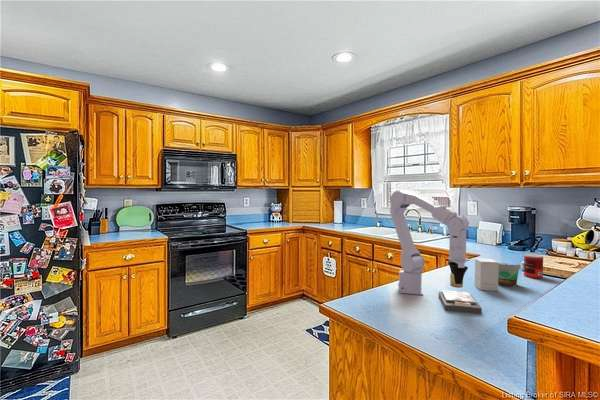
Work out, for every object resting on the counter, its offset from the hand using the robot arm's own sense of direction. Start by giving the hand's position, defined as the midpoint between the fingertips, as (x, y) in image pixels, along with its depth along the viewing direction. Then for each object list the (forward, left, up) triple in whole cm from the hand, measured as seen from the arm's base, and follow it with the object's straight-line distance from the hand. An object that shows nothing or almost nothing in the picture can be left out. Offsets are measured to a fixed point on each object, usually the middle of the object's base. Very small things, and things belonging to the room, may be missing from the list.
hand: (457, 281), depth 120 cm
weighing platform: (0, 0, -6) cm, 6 cm away
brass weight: (0, 0, -2) cm, 2 cm away
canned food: (+44, +50, -9) cm, 67 cm away
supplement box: (+16, +24, -9) cm, 30 cm away
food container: (+26, +31, -9) cm, 41 cm away
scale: (0, -1, -8) cm, 8 cm away
